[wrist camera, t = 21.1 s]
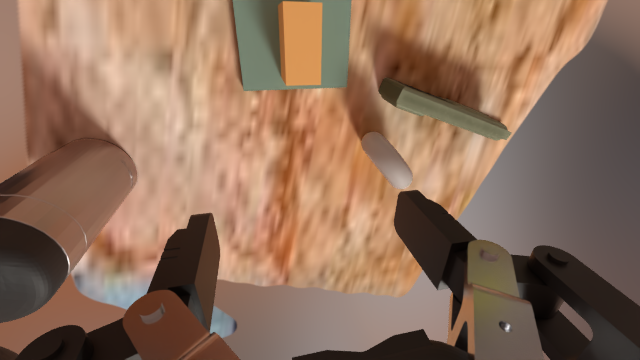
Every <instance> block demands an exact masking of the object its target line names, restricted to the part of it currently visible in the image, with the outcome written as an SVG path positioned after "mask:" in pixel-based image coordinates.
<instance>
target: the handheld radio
mask: <svg viewBox="0 0 640 360" xmlns="http://www.w3.org/2000/svg"><path fill="white" fill-rule="evenodd" d="M379 93H380V94H381V96H382V98H383V99H384V100H386V101H388V102H389V103H391V104H392V105H394V106H395V107H397V108H399V109H402V110H405V111H408V112H410V113H413V114H416V115H419V116H424V115H427V116H430V117H432V118H435V119H438V120H441V121H443V122H446V123H449V124H452V125H455V126H457V127H460V128H463V129H466V130H468V131H471V132H474V133H477V134H479V135H482V136H485V137H488V138H490V139H493V140H500V139H505V140H507V138H508V137H509V136H510V134H511V132H509V131H508V130H507V127H506V126H505V125H503V124H502V123H501V122H499V121H496V120H494V119H492V118H490V117H489V116H488V115H486V114H483V113H481V112H479V111H476V110H474V109H472V108H469V107H467V106H464V105H462V104H459V103H457V102H454V101H452V100H449V99H443V98H441V97H437V96H434V95H432V94H429V93H426V92H424V91H421V90H419V89H416V88H414V87H411V86H408V85H406V84H403V83H401V82H399V81H395V80H393V79H390V78H384V79H383V81H382V83H381V86H380V88H379Z"/></svg>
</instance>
